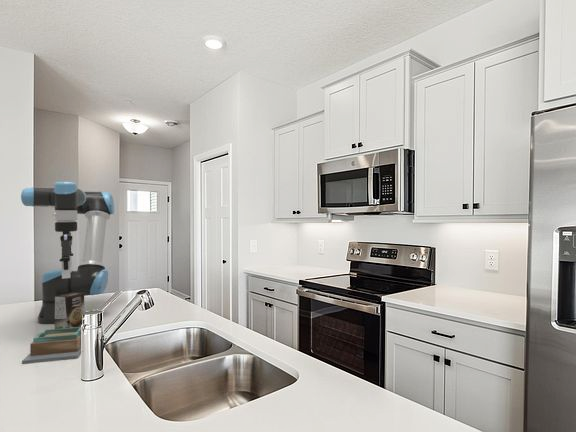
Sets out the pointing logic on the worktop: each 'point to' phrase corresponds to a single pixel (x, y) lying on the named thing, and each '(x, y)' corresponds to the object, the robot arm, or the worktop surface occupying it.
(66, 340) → the riser
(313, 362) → the worktop surface
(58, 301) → the coffee box
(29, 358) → the baseplate
